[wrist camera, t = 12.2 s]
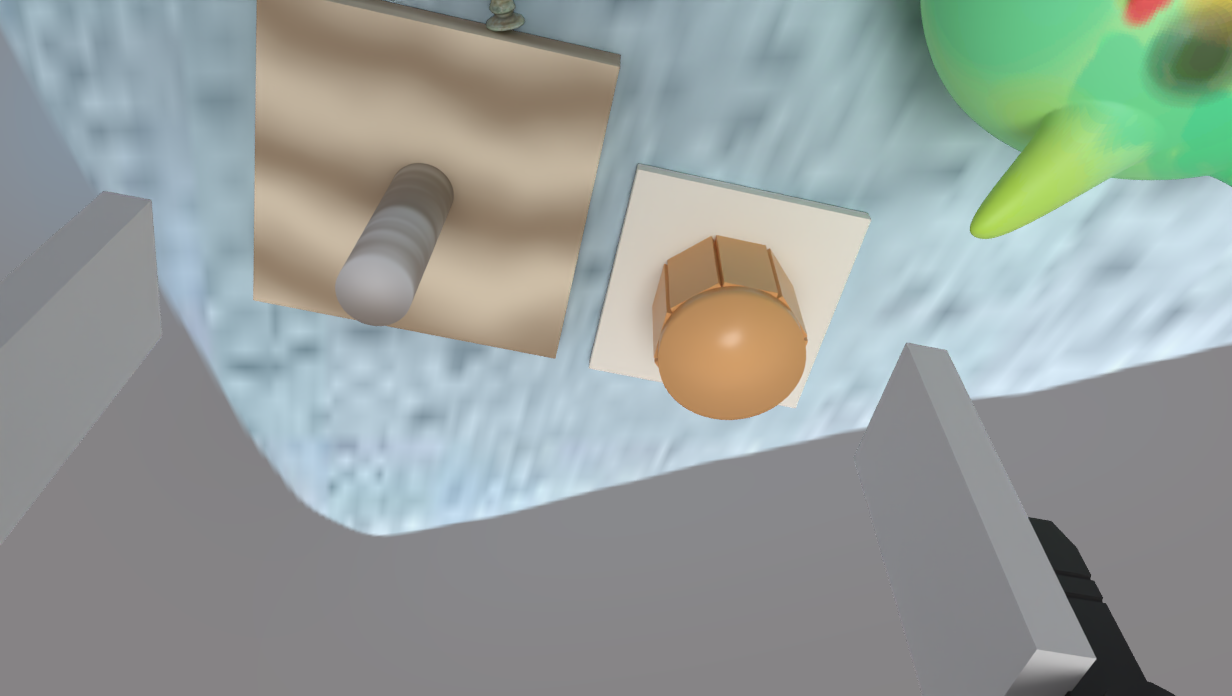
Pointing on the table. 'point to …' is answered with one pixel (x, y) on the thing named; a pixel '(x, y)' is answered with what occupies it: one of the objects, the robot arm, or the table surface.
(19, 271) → the robot arm
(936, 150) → the table surface
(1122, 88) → the toy bird
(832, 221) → the pad
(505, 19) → the weathered bronze handle
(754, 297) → the cap
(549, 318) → the post base
